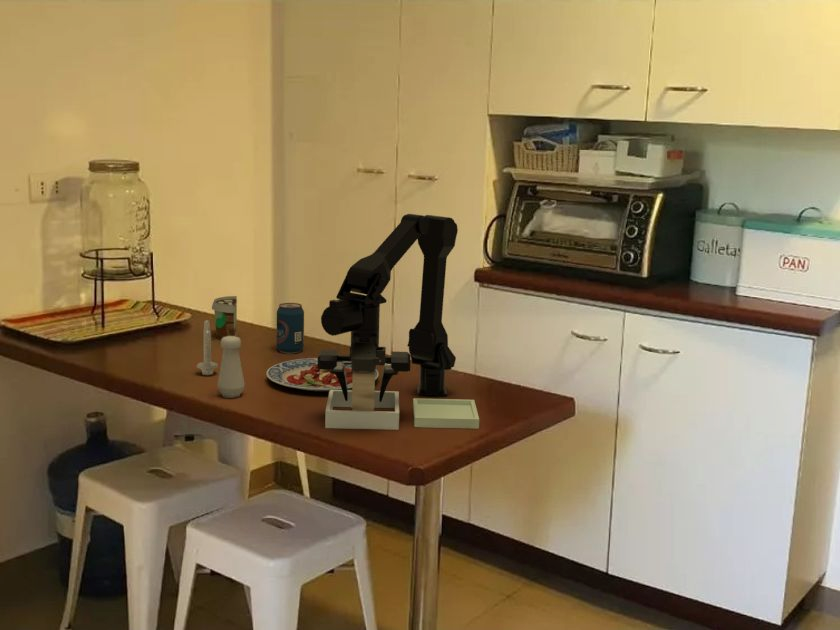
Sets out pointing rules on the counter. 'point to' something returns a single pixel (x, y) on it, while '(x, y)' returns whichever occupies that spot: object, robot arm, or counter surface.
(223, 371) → the salt shaker
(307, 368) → the ceramic plate
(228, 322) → the food container
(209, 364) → the screw
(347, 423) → the frame
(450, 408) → the tray
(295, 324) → the soda can
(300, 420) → the counter surface
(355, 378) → the birch peg
